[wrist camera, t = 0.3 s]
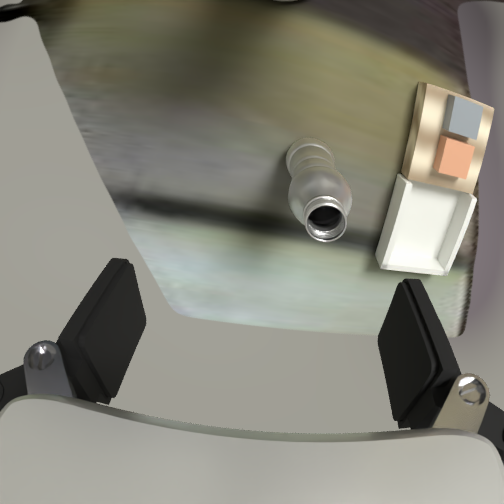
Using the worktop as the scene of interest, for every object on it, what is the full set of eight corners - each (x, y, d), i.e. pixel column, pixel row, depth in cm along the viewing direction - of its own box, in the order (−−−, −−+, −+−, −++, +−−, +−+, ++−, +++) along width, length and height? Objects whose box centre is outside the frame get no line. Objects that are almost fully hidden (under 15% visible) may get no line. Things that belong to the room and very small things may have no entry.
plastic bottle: (311, 124, 41) (333, 170, 24) (341, 161, 43) (377, 230, 26) (275, 152, 43) (270, 217, 27) (306, 187, 46) (318, 268, 29)
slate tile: (448, 94, 33) (455, 95, 31) (476, 104, 33) (483, 106, 31) (442, 127, 35) (448, 131, 34) (469, 136, 35) (476, 140, 34)
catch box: (397, 173, 43) (406, 183, 40) (465, 188, 42) (477, 199, 39) (374, 254, 51) (380, 268, 48) (438, 262, 50) (446, 275, 47)
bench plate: (418, 81, 35) (427, 83, 33) (483, 104, 35) (494, 108, 32) (400, 172, 43) (407, 179, 40) (463, 186, 42) (472, 194, 40)
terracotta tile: (440, 134, 36) (446, 138, 34) (468, 143, 36) (474, 146, 34) (432, 167, 39) (438, 172, 37) (459, 174, 39) (466, 179, 37)
